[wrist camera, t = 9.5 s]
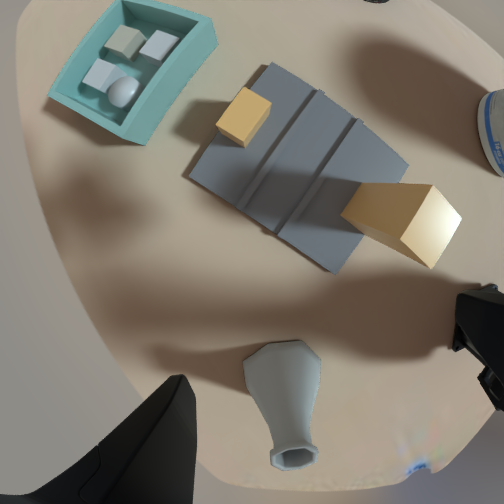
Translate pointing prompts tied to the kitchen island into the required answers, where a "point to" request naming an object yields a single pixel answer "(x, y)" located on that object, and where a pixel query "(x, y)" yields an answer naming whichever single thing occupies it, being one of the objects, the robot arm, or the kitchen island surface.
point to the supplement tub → (492, 128)
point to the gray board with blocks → (319, 176)
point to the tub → (134, 65)
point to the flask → (286, 399)
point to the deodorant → (377, 1)
